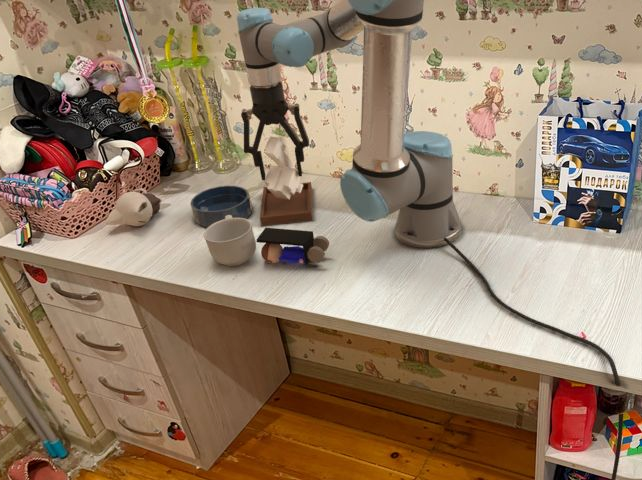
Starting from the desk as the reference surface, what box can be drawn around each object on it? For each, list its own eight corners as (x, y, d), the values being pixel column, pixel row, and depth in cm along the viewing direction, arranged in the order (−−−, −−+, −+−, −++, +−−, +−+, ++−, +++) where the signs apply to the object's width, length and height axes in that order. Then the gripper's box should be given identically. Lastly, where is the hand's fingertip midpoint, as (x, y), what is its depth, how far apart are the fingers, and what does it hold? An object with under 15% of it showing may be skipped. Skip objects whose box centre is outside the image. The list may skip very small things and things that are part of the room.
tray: (312, 220, 172) (311, 212, 170) (261, 226, 171) (259, 217, 170) (312, 189, 186) (311, 181, 184) (265, 195, 185) (263, 187, 184)
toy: (144, 224, 187) (106, 239, 174) (128, 192, 184) (89, 206, 172) (180, 210, 181) (143, 225, 168) (165, 177, 178) (127, 190, 166)
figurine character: (330, 260, 159) (267, 252, 160) (330, 231, 154) (264, 223, 156) (323, 276, 154) (258, 267, 155) (322, 247, 149) (255, 238, 151)
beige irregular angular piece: (314, 163, 179) (287, 130, 165) (298, 205, 176) (270, 175, 163) (290, 160, 181) (262, 127, 168) (275, 201, 179) (245, 171, 166)
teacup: (254, 270, 155) (247, 238, 150) (206, 273, 156) (197, 241, 151) (263, 239, 166) (257, 208, 161) (219, 242, 167) (211, 211, 162)
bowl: (250, 224, 173) (246, 208, 170) (191, 231, 172) (186, 214, 169) (253, 198, 184) (250, 182, 181) (198, 204, 184) (194, 189, 181)
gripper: (311, 73, 162) (324, 165, 176) (220, 83, 162) (240, 174, 176) (311, 83, 157) (324, 177, 171) (217, 93, 156) (238, 187, 170)
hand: (282, 175), depth 173 cm, fingers closed on beige irregular angular piece, 8 cm apart
